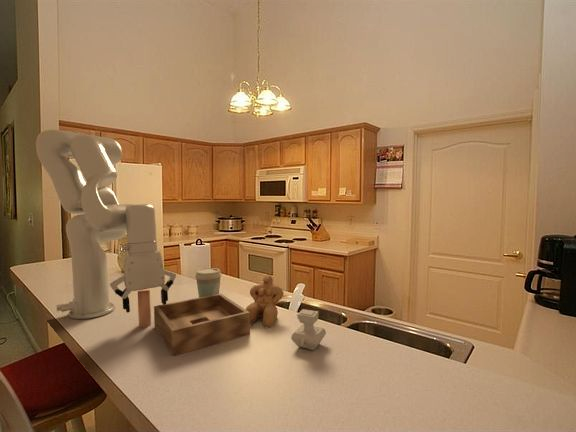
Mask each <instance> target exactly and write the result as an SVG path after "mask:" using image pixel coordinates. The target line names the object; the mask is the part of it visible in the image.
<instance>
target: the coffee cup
mask: <svg viewBox="0 0 576 432" xmlns="http://www.w3.org/2000/svg"><path fill="white" fill-rule="evenodd" d="M221 277H222V273H221V270H220V268H215V267H209V268H208V267H207V268H206V267H205V268H201V269H198V270H197V271H196V273H195V279H196V285H197V292H198V298H200V297H205V296H211V295H216V294H220V287H221V286H220V285H221Z"/></svg>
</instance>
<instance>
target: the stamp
mask: <svg viewBox="0 0 576 432" xmlns="http://www.w3.org/2000/svg"><path fill="white" fill-rule="evenodd" d="M296 316H297V320H298V321H299V323H300V324H302V325H301V326H299V327H298V329H296V330H295V331H294V332H293V333H292V334H291V338H290V339H291V341H292V342H293V343H294V344H295V345H296V347H299V348H304V349H308V350H312V351H315V349H316V348H317V347H318V346H319V345H320V344H321V342H322V341H323V339H324V338H325V335H326V334H327V331H326V329H325V328H323V327H320V326H319V327H318V326H315V325H314V324H315V323H316V322H317V321H318V320H319V310H312V309H306V308H304V309H303V308H302V309H301V310H300V311H299V312H298V313H297V314H296Z"/></svg>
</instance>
